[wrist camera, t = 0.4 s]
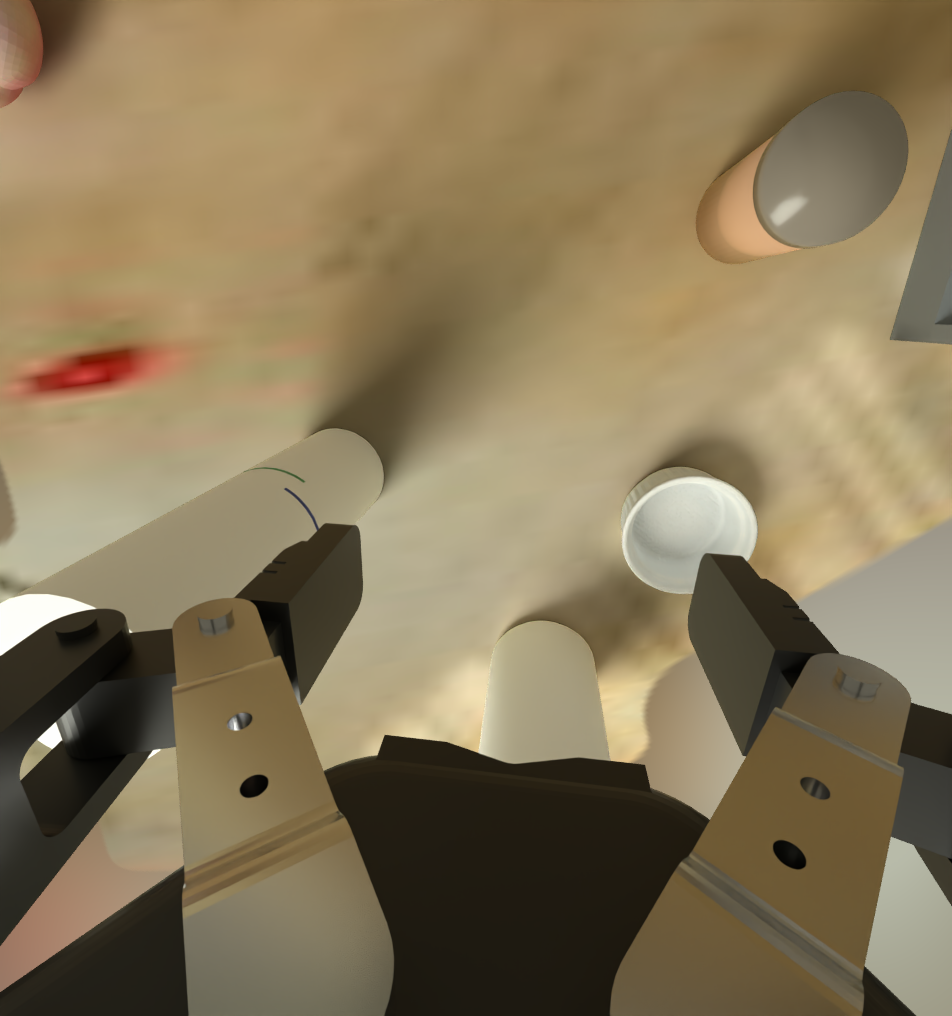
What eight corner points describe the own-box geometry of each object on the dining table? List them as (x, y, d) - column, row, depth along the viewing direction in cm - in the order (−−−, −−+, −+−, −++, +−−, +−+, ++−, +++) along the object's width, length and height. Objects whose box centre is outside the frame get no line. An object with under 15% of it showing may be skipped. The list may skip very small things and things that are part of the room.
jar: (702, 162, 31) (780, 92, 21) (801, 162, 30) (927, 89, 20) (687, 265, 33) (751, 244, 23) (779, 266, 32) (884, 245, 22)
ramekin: (756, 532, 39) (781, 557, 35) (648, 585, 41) (660, 615, 37) (701, 435, 37) (721, 450, 33) (591, 498, 39) (598, 519, 35)
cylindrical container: (343, 531, 42) (109, 794, 19) (279, 468, 41) (-57, 670, 18) (402, 476, 40) (216, 701, 17) (335, 408, 39) (35, 551, 16)
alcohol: (533, 596, 43) (523, 1130, 15) (615, 653, 44) (750, 1252, 16) (472, 662, 46) (369, 1208, 18) (550, 715, 47) (567, 1306, 19)
